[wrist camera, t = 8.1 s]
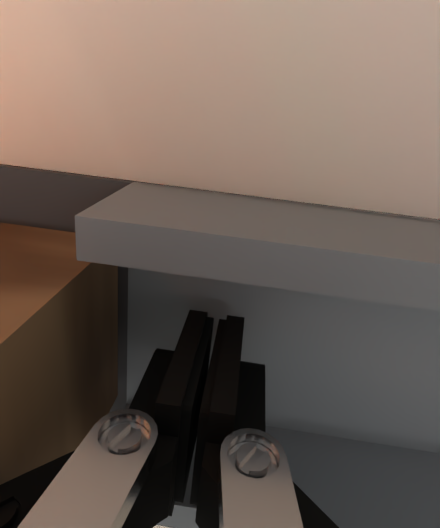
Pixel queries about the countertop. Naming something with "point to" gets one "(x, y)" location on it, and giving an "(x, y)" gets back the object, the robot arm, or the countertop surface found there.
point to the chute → (298, 331)
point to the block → (52, 346)
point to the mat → (64, 224)
